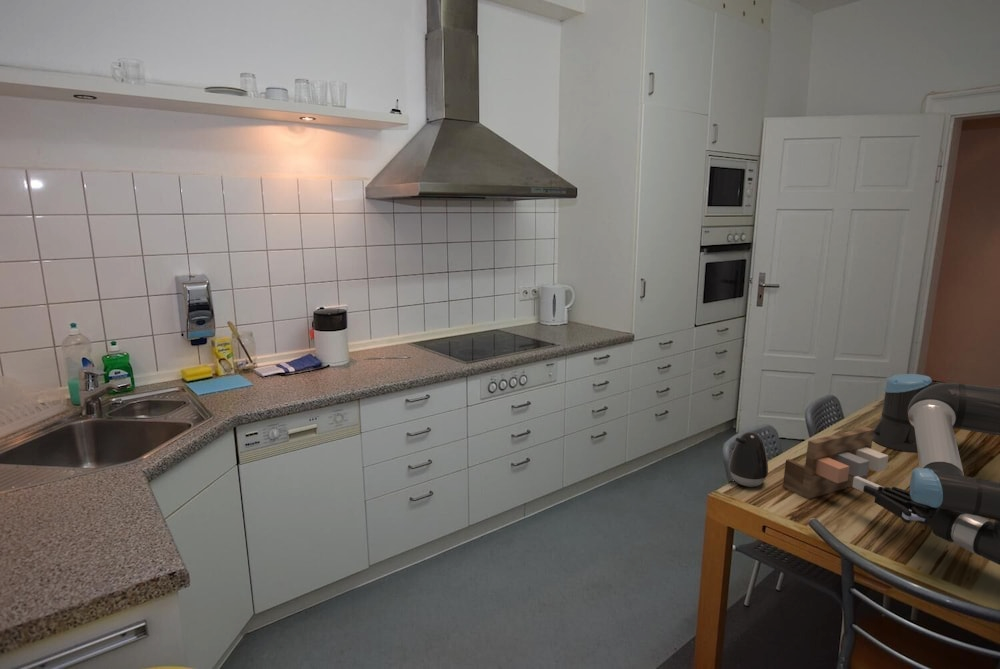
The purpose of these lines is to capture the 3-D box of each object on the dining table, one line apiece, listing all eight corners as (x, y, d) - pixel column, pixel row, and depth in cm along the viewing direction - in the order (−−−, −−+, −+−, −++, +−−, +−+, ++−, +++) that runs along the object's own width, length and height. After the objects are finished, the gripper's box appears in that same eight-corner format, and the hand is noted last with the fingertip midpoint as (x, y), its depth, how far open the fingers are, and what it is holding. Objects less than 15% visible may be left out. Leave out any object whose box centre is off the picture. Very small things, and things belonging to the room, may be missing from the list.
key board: (839, 470, 169) (846, 420, 166) (866, 482, 162) (873, 429, 159) (782, 486, 160) (788, 433, 156) (808, 499, 153) (815, 443, 149)
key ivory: (858, 457, 162) (859, 444, 161) (886, 469, 155) (888, 455, 154) (848, 460, 160) (850, 447, 159) (877, 472, 153) (879, 458, 152)
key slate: (839, 462, 159) (841, 449, 158) (867, 474, 151) (869, 460, 151) (829, 465, 157) (831, 452, 156) (857, 477, 150) (859, 463, 149)
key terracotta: (819, 468, 155) (821, 454, 154) (847, 480, 148) (849, 466, 147) (809, 470, 154) (811, 457, 153) (837, 483, 147) (839, 469, 146)
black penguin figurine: (719, 478, 165) (723, 428, 162) (747, 472, 168) (752, 424, 165) (745, 494, 155) (750, 442, 152) (774, 487, 159) (780, 436, 156)
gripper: (939, 550, 121) (835, 500, 142) (974, 536, 126) (869, 489, 147) (945, 518, 120) (839, 472, 141) (980, 505, 125) (873, 463, 146)
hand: (855, 481), depth 144 cm, fingers closed
